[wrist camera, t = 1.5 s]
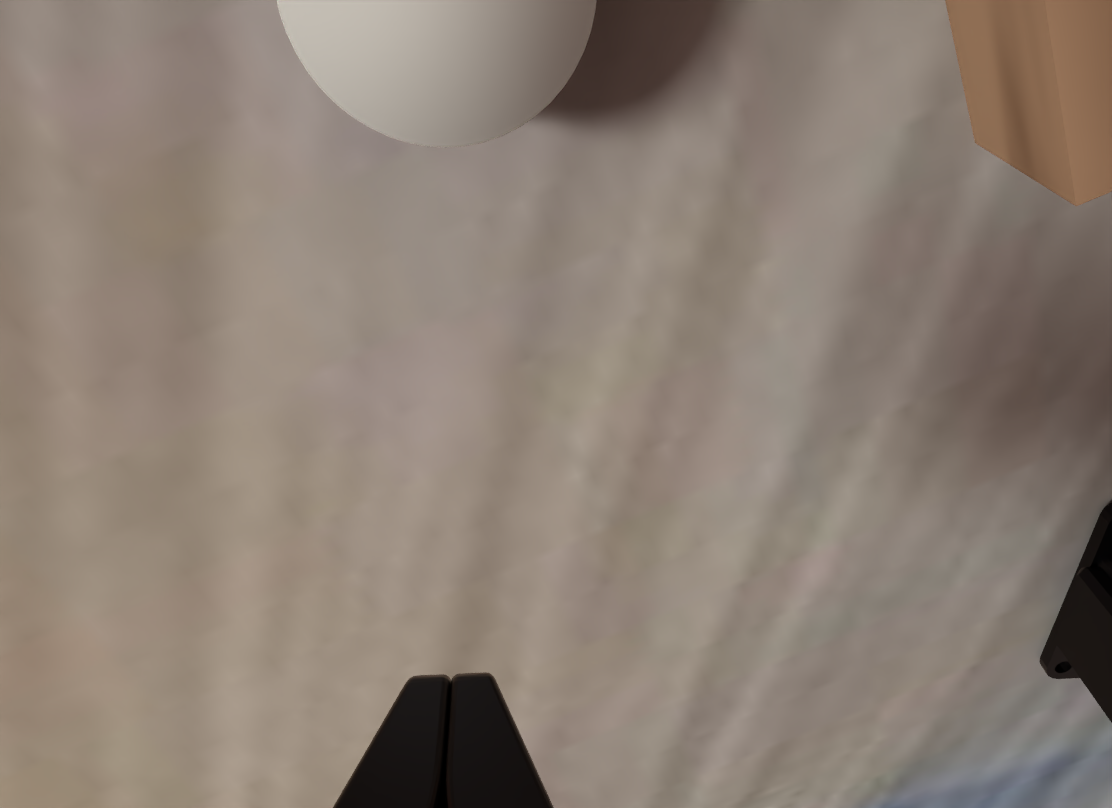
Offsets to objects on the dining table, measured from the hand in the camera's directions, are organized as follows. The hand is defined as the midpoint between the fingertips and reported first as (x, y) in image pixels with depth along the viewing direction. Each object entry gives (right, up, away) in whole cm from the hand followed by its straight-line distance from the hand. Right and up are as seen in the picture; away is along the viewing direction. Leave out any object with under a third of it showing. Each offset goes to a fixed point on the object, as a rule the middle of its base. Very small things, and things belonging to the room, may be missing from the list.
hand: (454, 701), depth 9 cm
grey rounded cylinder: (-1, +11, +7) cm, 13 cm away
